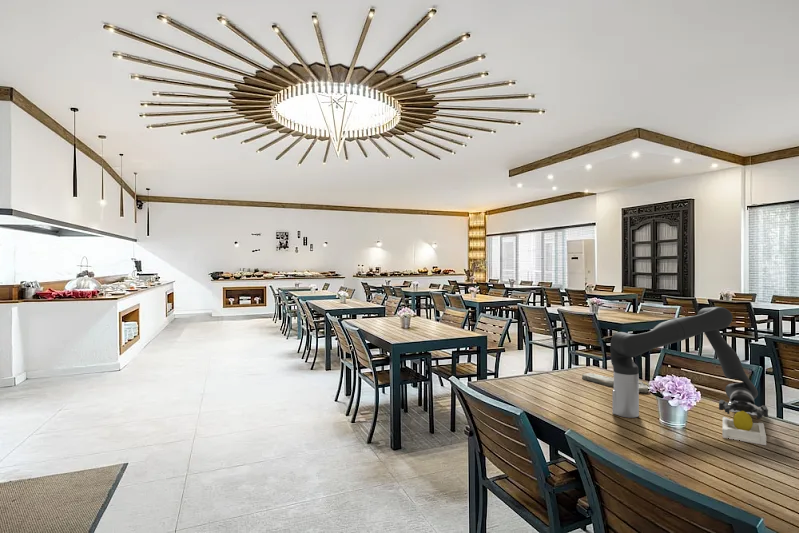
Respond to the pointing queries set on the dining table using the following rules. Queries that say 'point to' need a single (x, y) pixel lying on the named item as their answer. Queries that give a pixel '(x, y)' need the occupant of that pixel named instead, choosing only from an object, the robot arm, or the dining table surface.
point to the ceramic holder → (744, 432)
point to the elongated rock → (609, 381)
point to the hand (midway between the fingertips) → (743, 413)
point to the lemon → (742, 421)
